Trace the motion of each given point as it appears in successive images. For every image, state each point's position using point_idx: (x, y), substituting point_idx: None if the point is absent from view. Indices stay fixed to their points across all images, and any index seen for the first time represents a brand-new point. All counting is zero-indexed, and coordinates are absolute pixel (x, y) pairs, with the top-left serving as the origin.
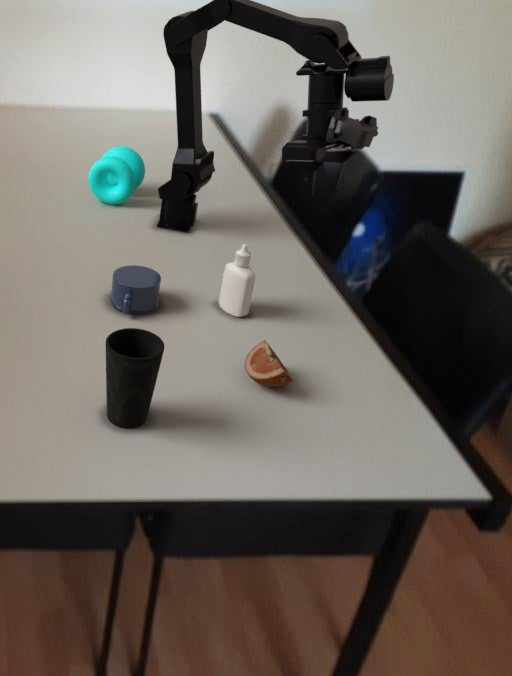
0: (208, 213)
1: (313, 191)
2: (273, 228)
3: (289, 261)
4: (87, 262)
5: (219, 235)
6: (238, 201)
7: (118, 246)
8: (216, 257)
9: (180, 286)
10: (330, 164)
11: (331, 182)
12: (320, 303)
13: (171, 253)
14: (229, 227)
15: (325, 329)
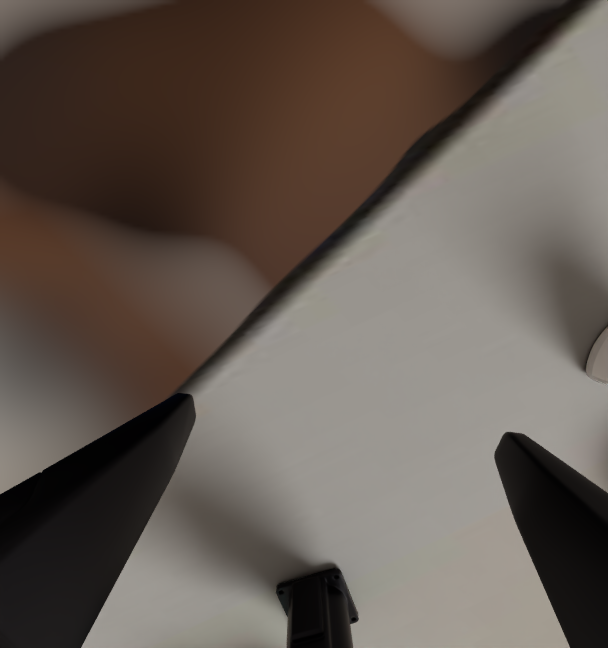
0: (219, 581)
1: (554, 472)
2: None
3: (311, 360)
4: None
5: (300, 521)
6: None
7: (479, 617)
8: (402, 479)
9: None
10: (48, 629)
11: (168, 456)
12: (469, 211)
13: (444, 544)
14: (248, 524)
15: (590, 145)
